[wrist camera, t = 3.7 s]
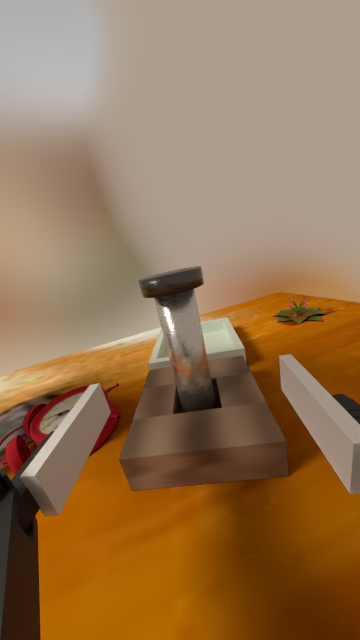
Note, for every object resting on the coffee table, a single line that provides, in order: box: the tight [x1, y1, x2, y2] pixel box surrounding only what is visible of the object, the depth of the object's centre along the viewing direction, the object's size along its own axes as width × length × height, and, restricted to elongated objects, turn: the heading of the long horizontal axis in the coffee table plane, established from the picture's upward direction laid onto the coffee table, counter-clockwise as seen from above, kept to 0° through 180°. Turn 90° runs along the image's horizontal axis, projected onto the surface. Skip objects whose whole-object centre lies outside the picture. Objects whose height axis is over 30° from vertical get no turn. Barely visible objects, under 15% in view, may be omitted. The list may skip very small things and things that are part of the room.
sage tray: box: [148, 317, 246, 370], centre depth 41 cm, size 16×16×4 cm
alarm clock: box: [0, 383, 121, 474], centre depth 26 cm, size 10×6×15 cm
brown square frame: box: [119, 355, 289, 491], centre depth 24 cm, size 14×14×4 cm
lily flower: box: [274, 297, 327, 324], centre depth 48 cm, size 12×12×5 cm
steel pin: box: [139, 266, 217, 413], centre depth 22 cm, size 6×6×18 cm
